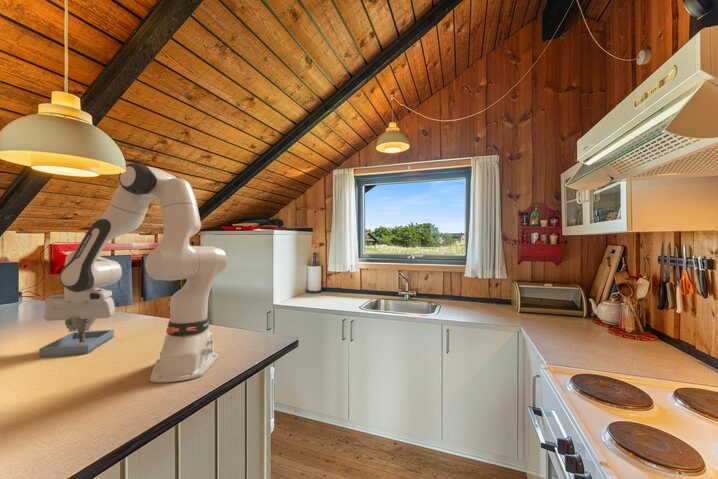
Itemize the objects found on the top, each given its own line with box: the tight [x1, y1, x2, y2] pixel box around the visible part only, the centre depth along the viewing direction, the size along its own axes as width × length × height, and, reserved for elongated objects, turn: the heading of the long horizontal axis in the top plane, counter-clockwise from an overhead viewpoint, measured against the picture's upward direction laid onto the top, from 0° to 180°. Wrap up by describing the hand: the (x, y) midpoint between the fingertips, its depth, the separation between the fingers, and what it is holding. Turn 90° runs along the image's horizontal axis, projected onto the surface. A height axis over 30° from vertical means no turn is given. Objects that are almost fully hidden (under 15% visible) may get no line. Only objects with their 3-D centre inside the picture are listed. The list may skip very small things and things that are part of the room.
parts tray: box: [38, 329, 115, 358], centre depth 110 cm, size 18×14×3 cm
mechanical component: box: [64, 317, 89, 343], centre depth 111 cm, size 3×10×10 cm, turn 179°
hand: (80, 330), depth 110 cm, fingers closed on mechanical component, 3 cm apart
